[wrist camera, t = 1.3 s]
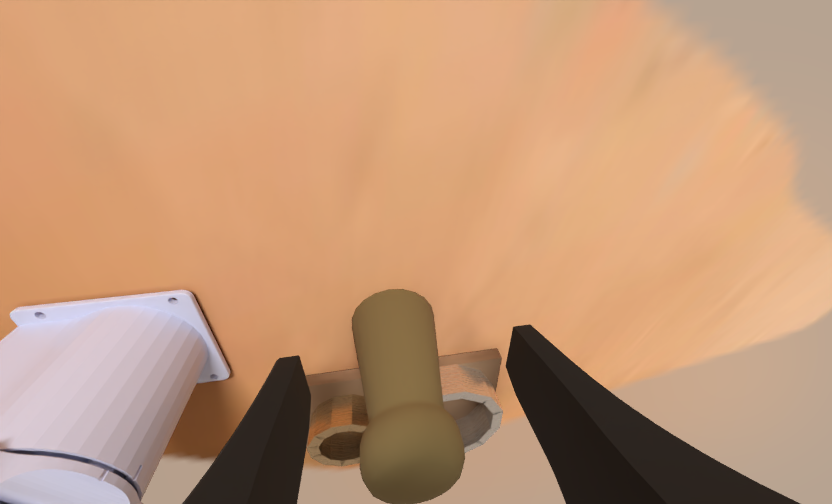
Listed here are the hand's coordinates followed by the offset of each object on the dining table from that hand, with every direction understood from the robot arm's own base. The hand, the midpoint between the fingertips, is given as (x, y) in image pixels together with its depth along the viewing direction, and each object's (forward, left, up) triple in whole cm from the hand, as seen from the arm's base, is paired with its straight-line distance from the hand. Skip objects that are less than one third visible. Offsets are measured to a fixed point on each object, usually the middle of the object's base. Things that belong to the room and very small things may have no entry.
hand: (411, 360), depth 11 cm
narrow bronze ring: (-5, -17, -9) cm, 20 cm away
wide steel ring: (+3, -17, -9) cm, 20 cm away
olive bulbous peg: (0, -8, -10) cm, 13 cm away
